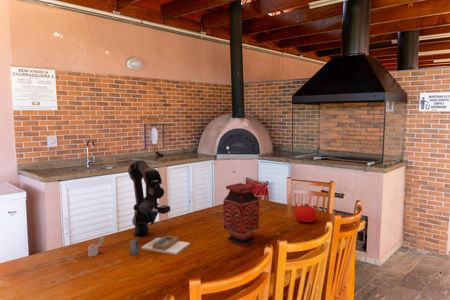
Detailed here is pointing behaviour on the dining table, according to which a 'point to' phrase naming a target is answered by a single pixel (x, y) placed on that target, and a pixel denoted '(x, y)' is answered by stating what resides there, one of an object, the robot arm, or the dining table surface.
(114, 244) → the dining table surface
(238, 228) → the vase
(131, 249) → the grey block
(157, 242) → the bar
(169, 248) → the seat board
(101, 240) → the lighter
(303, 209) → the tomato
